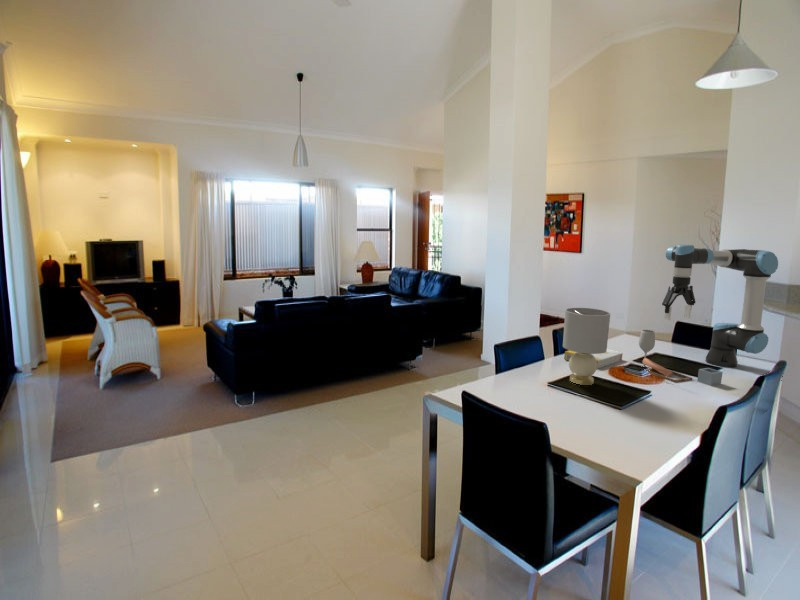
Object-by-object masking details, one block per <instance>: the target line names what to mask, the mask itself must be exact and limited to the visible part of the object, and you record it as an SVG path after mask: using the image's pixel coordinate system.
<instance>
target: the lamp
mask: <svg viewBox="0 0 800 600" xmlns="http://www.w3.org/2000/svg"><path fill="white" fill-rule="evenodd" d="M610 322H611V313H610V311H606V310H603V309H598V308H597V309H596V308H590V307H568V308H566V309H565V311H564V323H563V324H564V325H563V337H562V339H563V340H562V348H563V349H565V350H566V351H569V350H570V351H574V352H576V353H574V354H573V355H572V356H571V358H570V360H569V361H568V368H569V370H570V373H572V374H570V375H569V382H570V381H571V382H573V383H576V384H580V385H591V386H593V385H594V382H595V381H594V380H595V378H594V377H593V375H594V374H595V373H596V372H597V361H596V359H595V357H594V356H593V355H592V354H600V353H604V352H606V351H607V349H608V339H609V330H610ZM571 382H570V383H571ZM573 383H572V384H573ZM576 384H575V385H576ZM592 384H593V385H592ZM580 385H579V386H580Z"/></svg>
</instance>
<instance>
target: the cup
mask: <svg viewBox="0 0 800 600" xmlns="http://www.w3.org/2000/svg"><path fill="white" fill-rule="evenodd" d="M722 380H723V371H720V370H717V369H713V368H711V367H704V368H699V369H698V372H697V380H696V381H697V383H700V384H704V385H705V386H709V387H714V386H719V385H722Z"/></svg>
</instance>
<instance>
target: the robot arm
mask: <svg viewBox="0 0 800 600" xmlns="http://www.w3.org/2000/svg"><path fill="white" fill-rule="evenodd" d="M665 257H666V260H668V261H672V262H674V269H673V276H672V284H673V286H670V285H669V286H668V289H667V293H666V295H665V297H664V298H663V300H662V303H661V304H662V306H664V320H667V321H670V320H671V319H672V318H671V316H672V308H673V307H672V305H673V303H674V302H675V301H676V299H677V298H678V297H680V296H682V297H683V299H684V301H685V302H686V304H685V306H684V315H683V318H687V319H691V313H692V306H694V305H695V304H696V297H695V295H694V291H693V290H694V289H693V288H694V287H693V285H691V280H692V279H691V276H692V271H693V270H692V269H693V265H714V266H718V267H720V268H725V269H731V270H735V271H740V272H743V273H742V274H743V277H744V278H745V287H744V288H745V289H744V295H743V296H744V297H743V302H742V303H743V304H742V311H741V318H740V319H741V320H740V323H732V322H731V323H730V322H717V323H715V324H713V328H712V335H711V342H710V343H711V344H710V349H709V351H708V352H707V355H706V356H705V361H704V362H706V363H708V364H710V365H713V366H718V367H723V368H724V367H725V368H735V367H737V366H738V362H739V361H738V358H737V353H736V350H739V351H742V352H746V353H749V354H760V353H761V352H763V351H764V350H765V349H766V348H767V345H768V344H769V337H768V334H766V333H764V331H765V328H764V327H763V326H762V319H763V318H762V317H763V311H764V310H763V309H764V302H765V295H766V294H765V293H766V286H767V281H768V279H770V278H771V276H772V275H773V274H775V273H776V272H777V269H778V267H779V259H778V257H777V255H776V254H775V253H774V252H772V251H769V250H763V249H745V248H740V249H739V248H737V249H726V248H725V249H721V250H715V249H710V248H700V247H698V248H696V247H695V246H694V245H693V244H678V245H677V246H676V245H675V246H669V247H668V248H667V249H666V251H665Z"/></svg>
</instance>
